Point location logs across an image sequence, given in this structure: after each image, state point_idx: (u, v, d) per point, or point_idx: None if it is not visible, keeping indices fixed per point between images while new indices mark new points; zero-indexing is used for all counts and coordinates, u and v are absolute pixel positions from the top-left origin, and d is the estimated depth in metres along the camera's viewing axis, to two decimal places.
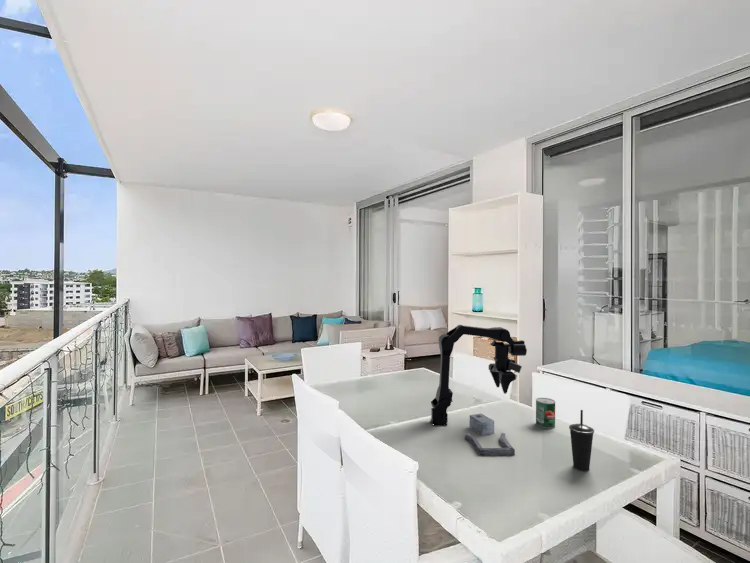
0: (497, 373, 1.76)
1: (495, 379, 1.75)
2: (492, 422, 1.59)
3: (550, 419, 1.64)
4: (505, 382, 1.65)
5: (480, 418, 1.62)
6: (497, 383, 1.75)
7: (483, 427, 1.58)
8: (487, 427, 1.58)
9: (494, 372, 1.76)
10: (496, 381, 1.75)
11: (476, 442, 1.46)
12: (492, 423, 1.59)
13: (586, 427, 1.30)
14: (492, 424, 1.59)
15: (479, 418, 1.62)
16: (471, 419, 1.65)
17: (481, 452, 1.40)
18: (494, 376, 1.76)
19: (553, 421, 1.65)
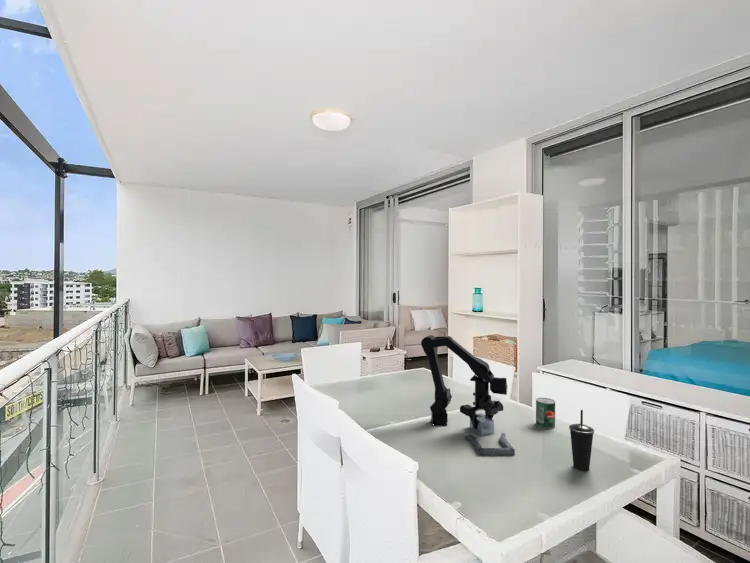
0: None
1: None
2: (492, 422, 1.59)
3: (550, 419, 1.64)
4: (472, 416, 1.61)
5: (480, 418, 1.62)
6: None
7: (482, 426, 1.58)
8: (486, 427, 1.58)
9: None
10: None
11: (476, 442, 1.46)
12: (492, 423, 1.59)
13: (586, 427, 1.30)
14: (492, 424, 1.59)
15: (479, 418, 1.62)
16: None
17: (481, 452, 1.40)
18: (486, 414, 1.65)
19: (553, 421, 1.65)
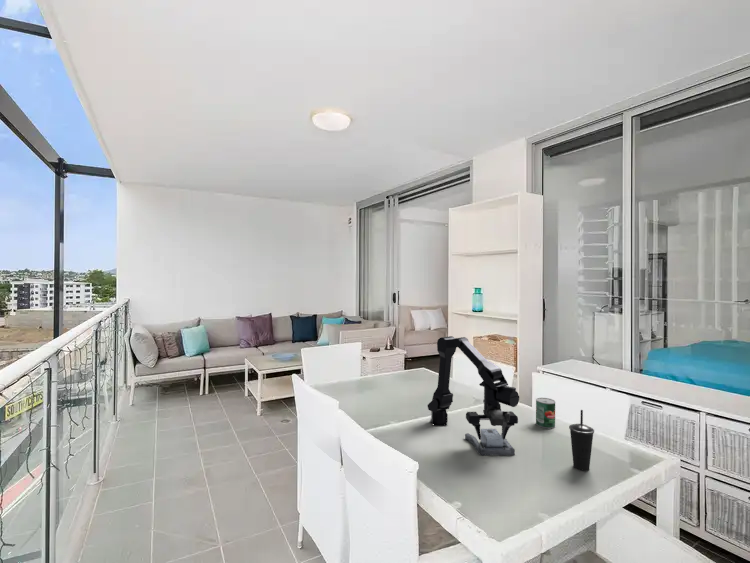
0: (504, 423, 1.47)
1: (502, 428, 1.48)
2: (500, 440, 1.42)
3: (550, 419, 1.64)
4: None
5: (489, 433, 1.46)
6: (502, 434, 1.47)
7: (488, 443, 1.42)
8: (493, 444, 1.42)
9: None
10: (502, 431, 1.47)
11: (476, 442, 1.46)
12: (500, 441, 1.42)
13: (586, 427, 1.30)
14: (500, 442, 1.42)
15: (488, 433, 1.47)
16: (481, 434, 1.50)
17: (481, 452, 1.40)
18: (503, 425, 1.48)
19: (553, 421, 1.65)
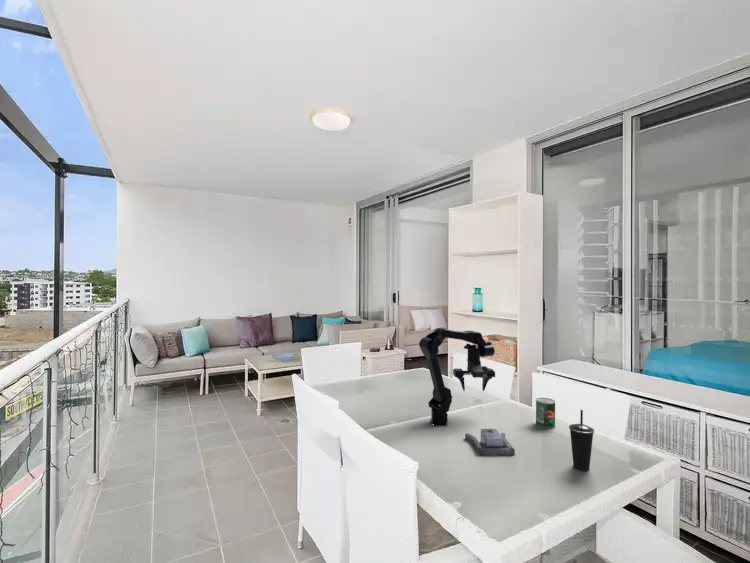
0: (484, 377, 1.79)
1: (482, 382, 1.80)
2: (500, 440, 1.42)
3: (550, 419, 1.64)
4: None
5: (489, 433, 1.46)
6: (482, 386, 1.79)
7: (488, 443, 1.42)
8: (493, 444, 1.42)
9: (483, 375, 1.80)
10: (482, 384, 1.79)
11: (476, 442, 1.46)
12: (500, 441, 1.42)
13: (586, 427, 1.30)
14: (500, 442, 1.42)
15: (488, 433, 1.47)
16: (481, 434, 1.50)
17: (481, 452, 1.40)
18: (483, 379, 1.80)
19: (553, 421, 1.65)
